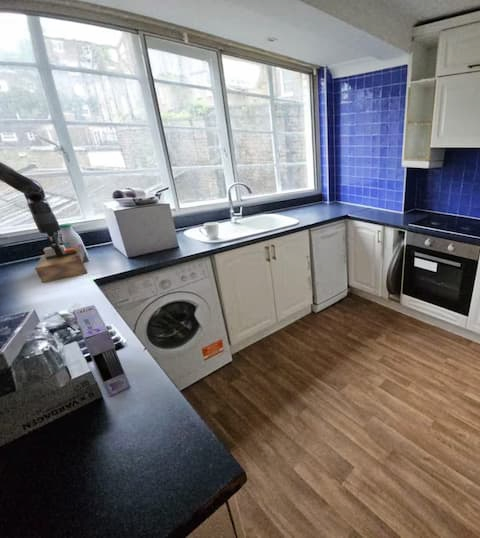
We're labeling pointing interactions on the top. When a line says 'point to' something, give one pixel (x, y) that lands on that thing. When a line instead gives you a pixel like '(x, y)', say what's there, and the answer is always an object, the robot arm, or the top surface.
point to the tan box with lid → (62, 266)
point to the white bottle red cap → (51, 253)
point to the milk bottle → (71, 237)
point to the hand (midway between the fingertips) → (61, 253)
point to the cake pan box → (101, 349)
